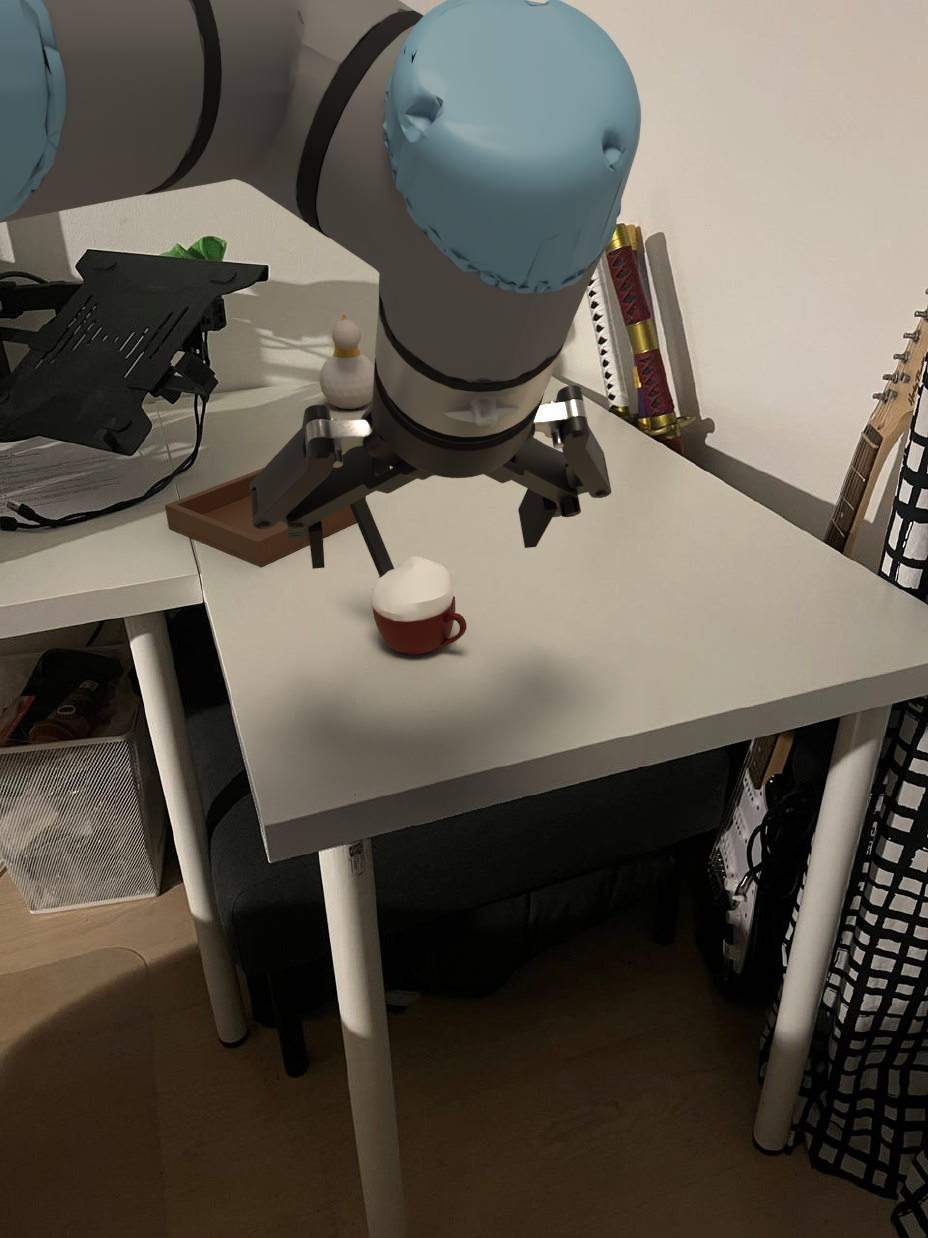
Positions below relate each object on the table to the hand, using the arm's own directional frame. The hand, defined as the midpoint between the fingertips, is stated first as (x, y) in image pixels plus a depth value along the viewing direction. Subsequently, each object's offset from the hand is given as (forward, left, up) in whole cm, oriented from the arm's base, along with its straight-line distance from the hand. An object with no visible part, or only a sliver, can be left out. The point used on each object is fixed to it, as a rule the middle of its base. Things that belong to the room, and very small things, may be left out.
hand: (423, 538), depth 62 cm
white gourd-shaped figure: (+44, +51, -13) cm, 69 cm away
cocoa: (+5, +6, -13) cm, 15 cm away
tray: (+13, +32, -12) cm, 37 cm away
